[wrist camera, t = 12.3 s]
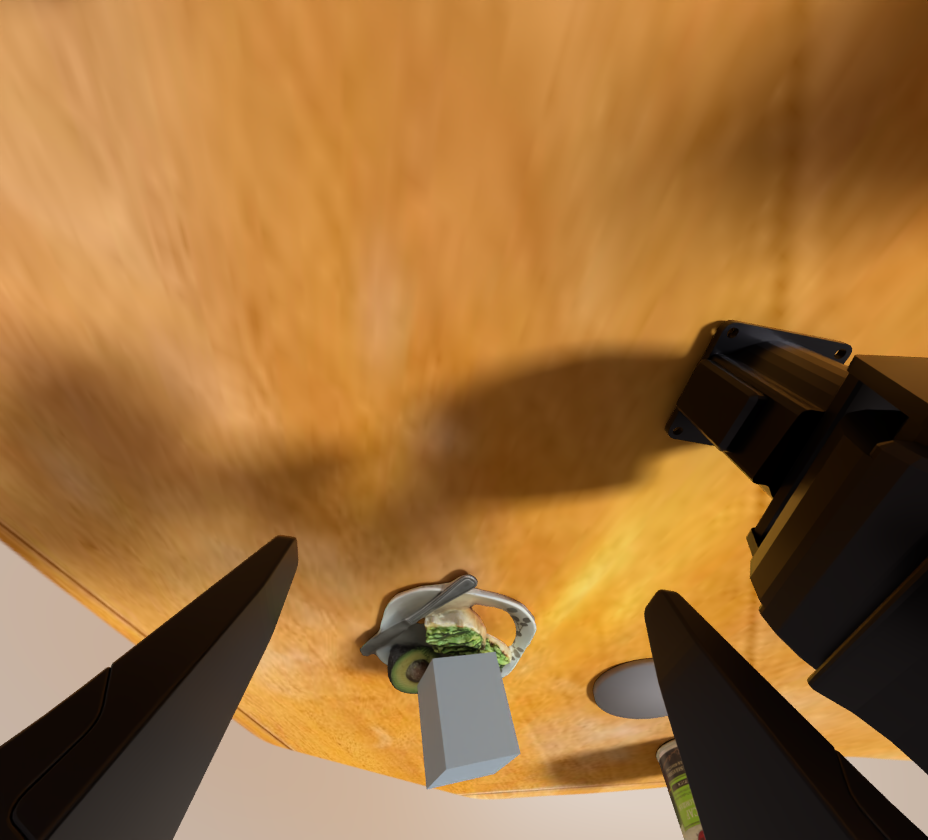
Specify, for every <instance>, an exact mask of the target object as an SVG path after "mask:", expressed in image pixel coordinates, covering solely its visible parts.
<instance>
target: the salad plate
mask: <svg viewBox="0 0 928 840" xmlns="http://www.w3.org/2000/svg"><path fill="white" fill-rule="evenodd" d="M477 582H478V581H477V579H476V578H475V577H474V576H472V575H462V576H460V577H458V578H457V579H455V580H454V581H452V582H449V583H443V584H436V585H426V586H420V587H416V588H413V589H410V590H407V591H404V592H400V593H398V594H396V595H395V596H394V597H393V598H392V599H391V600H390V601H389V603H388V605H387V607H386V609H385V611H384V614H383V619H382V622H381V626H380V630H379V631H378V632H377V633H376V634H375V635H374V636H373V637H372V638H370V639H369V640H368V641H367V642H366V643H365V644H364V645H363V646H362V648H360V651H361V653H362V655H364V656H369V655H371V654H375V655H377V656H378V657H379V659H380V660H381V661H382V662H383V663H385V664H386V665H387V666H388V677H389V679H390V682H391V683H392V685H393V686H394V688H396V689H397V690H399V691H401V692H404V693H409V694H418V689H417V685H418V683H419V682H420V680H421V678H422V676H423V675H424V673H425V671H426V669H427V668H428V666H429V664H430V662H431V661H432V659H434V658H443V657H452V656H461V655H471V654H480V653H489V652H496V656H497V660H498V664H499V668H500V672H501V676H502V678H503V677H505V676H506V675H508V674H509V673H510V672H511V671H512V670H513V669H514V667H515V666H516V664H517V663H518V661H519V659H520V658H521V656H522V654H523V653H524V651H525V649H526V647H527V646H528V645H529V644H530V642H531V640H532V638H533V636H534V634H535V632H536V624H535V619H534V616H533V615H532V614H531V612H530V611H529V610H528V609H527V608H526V607H525V605H523V604H522V603H520V602H518V601H516V600H514V599H512V598H510V597H507V596H505V595H502V594H498V593H494V592H490V591H484V590H480V589H477V588H475V587H476V586H477ZM476 604H477V605H483V606H489V607H496V608H499V609H503V610H504V611H506V612H508V613H509V614H510V616H511V617H512V619H513V620H514V623H515V625H516V637H515V640H514V642H513V644H512V645H511V646H509V647H508V646H507V645H506V644H505V643H503V642H502V641H501V640H499V639H497V638H496V637H494V636H492V635H490V634H488V633H486V628H485V626H484V624H483V622H482V620H481V618H480V617H479V615H478V614H477V613H475V612H474V611H473V610H472V606H473V605H476ZM422 618H425V624H419V623H416V622H418V621H419V620H420V619H422Z"/></svg>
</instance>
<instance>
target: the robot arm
mask: <svg viewBox="0 0 928 840" xmlns="http://www.w3.org/2000/svg"><path fill="white" fill-rule="evenodd" d="M732 328H734V329H733V332H732V333H731V334H730V335H728V336H727V333H728V331H729V330H730V329H732ZM838 350H839V351H838ZM837 351H838V353H837V354H836V355H835V353H836V352H837ZM851 353H852V347H851V346H850V345H848V344H846V343H843V342H841V341H836V340H831V339H826V338H821V337H816V336H811V335H806V334H801V333H796V332H791V331H786V330H781V329H776V328H771V327H765V326H760V325H755V324H750V323H745V322H740V321H735V320H728V321H726V322H724V323H723V324H721V325H720V327H719V328H718V329H717V331H716V333H715V335H714V337H713V339H712V341H711V343H710V344H709V346H708V348H707V350H706V352H705V354H704V356H703V357H702V359H701V361H700V362H699V363H698V365H697V367H696V368H695V370H694V372H693V374H692V376H691V378H690V380H689V382H688V383H687V385H686V387H685V389H684V391H683V393H682V395H681V397H680V398H679V400H678V402H677V406H676V408H675V410H674V412H673V413H672V415H671V417H670V419H669V421H668V423H667V425H666V427H665V431H666V433H667V434H668V435H669V436H670V437H671V438H673V439H678V440H684V441H690V442H696V443H702V444H707V445H713V446H715V447H716V448H717V449H718V450H720V451H722V452H723V453H724V454H725V455H726V456H727V457H728V458H729V459H730V460H731V461H732V462H733V463H734V464H735V465H736V466H737V467H738V468H739V469H740V470H741V471H742V472H743V473H744V474H745V475H746V476H747V477H748V478H749V479H750V480H751V481H752V482H753V483H756V484H758V485H759V486H760V487H761V488H762V489H763V490H764V491H765V492H766V493H767V494H768V495H769V496H770V497H771V498H772V501H771V503H770V504H769V506H768V508H767V509H766V511H765V513H764V514H763V516H762V518H761V519H760V521H759V523H758V524H757V526H756V528H752V529H751V530H750V532H749V534H748V535H747V537H746V539H747V542H748V545H749V547H750V550H751V553H752V556H753V558H752V559H751V564H750V579H751V581H752V584H753V586H754V588H755V591H756V593H757V596H758V598H759V600H760V602H761V606H760V607H759V612H760V614H761V615H762V617H763V618H764V619H765V620H766V622H767V623H768V624H769V626H770V627H771V628H772V629H773V631H774V632H775V633H776V634H777V635H778V636H779V638H780V639H781V640H783V641H784V642H785V643H786V644H787V645H788V646H789V647H790V648H791V649H792V650H793V651H794V652H795V653H796V654H797V655H798V656H799V657H800V658H801V659H803V660H804V661H805V662H806V663H808V664H809V665H810V666H812V667H813V668H814V669H815V671H814V672H813V673H812V674H811V675H810V676H809V677H808V679H807V681H808V684H809V685H810V687H811V688H812V689H813V690H815V691H817V692H818V693H820V694H822V695H823V696H825V697H827V698H828V699H830V700H832V701H834V702H835V703H837V704H839V705H840V706H842V707H844V708H846V709H847V710H849V711H851V712H852V713H854V714H855V715H857V716H858V717H859V718H861V719H862V720H863V721H865V722H866V723H867V724H869V725H870V726H871V727H873V728H874V729H875V730H877V731H878V732H879V733H881V734H882V735H883V736H884V737H886V738H887V739H888V740H890V741H891V742H892V743H893V744H895V745H896V746H897V747H898V748H899V749H900V750H901V751H902V752H904V753H905V754H906V755H907V756H908V757H909V758H910V759H911V760H912V761H914V762H915V763H916V764H917V765H918V766H919V767H920V768H921V769H922V770H923V771H924V772H925V773H927V775H928V358H923V357H900V356H878V355H855V356H854V358H853V360H852V361H851V363H850V365H849V366H846V365H844V363H845V362H846V360H847V359H848V358H849V356H850V354H851ZM677 427H679V428H678V430H676V431H673V430H674V429H675V428H677ZM297 566H298V547H297V539H296V538H295V537H291V536H284V535H279V536H276V537H275V538H273V539H272V540H271V541H269V542H268V543H267V544H266V545H264V546H263V547H262V548H260V549H259V550H258V551H257V552H255V553H254V554H253V555H251V556H250V557H249V558H248V559H246V560H245V561H244V562H242V563H241V564H240V565H239V566H237V567H236V568H235V569H233V570H232V571H231V572H230V573H228V574H227V575H226V576H224V577H223V578H222V579H221V580H219V581H218V582H217V583H215V584H214V585H213V586H211V587H210V588H209V589H208V590H206V591H205V592H204V593H202V594H201V595H200V596H199V597H197V598H196V599H195V600H193V601H192V602H191V603H190V604H188V605H187V606H186V607H184V608H183V609H182V610H181V611H179V612H178V613H177V614H175V615H174V616H173V617H172V618H170V619H169V620H168V621H166V622H165V623H164V624H163V625H161V626H160V627H159V628H157V629H156V630H155V631H154V632H152V633H151V634H150V635H148V636H147V637H146V638H144V639H143V640H142V641H141V642H139V643H138V644H137V645H135V646H134V647H133V648H132V649H130V650H129V651H128V652H126V653H125V654H124V655H123V656H121V657H120V658H119V659H117V660H116V661H115V662H114V663H113V664H112V665H111V668H110V667H107V668H106V669H104V670H103V671H102V672H100V673H99V674H98V675H97V676H95V677H94V678H93V679H91V680H90V681H89V682H88V683H86V684H85V685H84V686H82V687H81V688H80V689H78V690H77V691H76V692H74V693H73V694H72V695H70V696H69V697H68V698H66V699H65V700H64V701H62V702H61V703H60V704H58V705H57V706H56V707H54V708H53V709H52V710H50V711H49V712H48V713H46V714H45V715H44V716H42V717H41V718H39V719H38V720H37V721H35V722H34V723H33V724H31V725H30V726H28V727H27V728H25V729H24V730H22V731H21V732H20V733H18V734H17V735H15V736H14V737H13V738H11V739H10V740H8V741H7V742H5V743H4V744H3V745H1V746H0V840H173V838H174V836H175V833H176V832H177V830H178V827H179V826H180V823H181V821H182V819H183V817H184V815H185V813H186V811H187V809H188V807H189V805H190V803H191V801H192V799H193V797H194V795H195V792H196V791H197V789H198V787H199V785H200V783H201V780H202V778H203V776H204V774H205V772H206V770H207V768H208V766H209V764H210V762H211V760H212V758H213V756H214V753H215V752H216V750H217V748H218V746H219V744H220V742H221V739H222V737H223V735H224V733H225V731H226V729H227V727H228V725H229V723H230V721H231V719H232V717H233V715H234V713H235V711H236V709H237V707H238V705H239V703H240V701H241V699H242V697H243V695H244V693H245V690H246V688H247V686H248V684H249V682H250V680H251V678H252V676H253V674H254V672H255V670H256V668H257V666H258V664H259V662H260V660H261V658H262V656H263V654H264V652H265V650H266V647H267V645H268V643H269V641H270V639H271V637H272V634H273V632H274V629H275V627H276V624H277V621H278V618H279V616H280V613H281V610H282V608H283V605H284V602H285V599H286V597H287V594H288V591H289V589H290V586H291V583H292V580H293V578H294V575H295V572H296V569H297ZM644 617H645V623H646V627H647V632H648V637H649V642H650V647H651V652H652V656H653V661H654V666H655V671H656V675H657V680H658V684H659V687H660V691H661V694H662V698H663V701H664V704H665V708H666V711H667V714H668V718H669V721H670V724H671V727H672V731H673V734H674V737H675V741H676V744H677V747H678V751H679V754H680V757H681V760H682V764H683V767H684V770H685V774H686V777H687V780H688V783H689V787H690V790H691V793H692V797H693V800H694V803H695V807H696V810H697V813H698V816H699V820H700V823H701V826H702V830H703V833H704V836H705V840H928V837H927V836H926V835H925V834H924V833H923V832H922V831H921V830H920V829H919V828H917V826H915V825H914V824H913V823H912V822H911V821H910V820H909V819H908V818H907V817H906V816H905V815H903V814H902V813H901V812H900V811H899V810H898V809H897V808H896V807H895V806H894V805H893V804H892V803H891V802H890V801H888V799H886V798H885V796H883V794H881V793H880V792H879V791H878V790H877V789H876V788H875V787H874V786H873V785H872V784H871V783H870V782H869V781H868V780H867V779H866V778H865V777H864V776H863V775H862V774H861V773H860V772H859V771H858V770H857V769H856V768H855V767H854V766H853V765H852V764H851V763H850V762H849V761H847V759H846V758H845V757H844V756H843V755H842V754H841V753H840V752H838V751H836V750H835V749H834V747H833V746H832V745H831V744H830V743H829V742H828V741H827V740H826V739H825V738H824V737H823V736H822V735H821V734H820V733H819V732H818V731H817V730H816V729H815V728H814V727H813V726H812V725H811V724H810V723H809V722H808V721H807V720H806V719H805V718H804V717H803V716H802V715H801V714H800V713H799V712H798V711H797V710H796V709H795V708H794V707H793V706H792V705H791V704H790V703H789V702H788V701H787V700H786V699H785V698H784V697H783V696H782V695H781V694H780V693H779V692H778V691H777V690H776V689H775V688H774V687H773V686H772V685H771V684H770V683H769V682H768V681H767V680H766V679H765V678H764V677H763V676H762V675H760V674H759V673H758V672H757V671H756V670H755V669H754V668H753V667H752V666H751V665H750V664H749V663H748V662H747V661H746V660H745V659H744V658H743V657H742V656H741V655H740V654H739V653H738V652H737V651H736V650H735V649H734V648H733V647H732V646H731V645H730V644H729V643H728V642H727V641H726V640H725V639H724V638H723V637H722V636H721V635H720V634H719V633H718V632H717V631H716V630H715V629H714V628H713V627H712V626H711V625H710V624H709V623H708V622H707V621H706V620H705V619H704V618H703V617H702V616H701V615H700V614H699V613H698V612H697V611H696V610H695V609H694V608H693V607H692V606H691V605H690V604H689V603H688V602H687V601H686V600H685V599H684V598H683V597H682V596H681V595H679V594H678V593H677V592H674V591H669V590H658V591H657V592H656V594H655V595H654V596H653V598H652V599H651V601H650V602H649V603H648V605H647V606H646V608H645V612H644Z"/></svg>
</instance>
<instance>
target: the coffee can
mask: <svg viewBox="0 0 928 840" xmlns="http://www.w3.org/2000/svg"><path fill="white" fill-rule="evenodd" d="M656 758H657V760H658V762H659V764H660V767H661V770H662V773H663V776H664V779H665V782H666V785H667V788H668V792H669V795H670V798H671V801H672V804H673V807H674V810H675V813H676V816H677V819H678V822H679V824H680V828H681V831H682V834H683V837H684V840H705V836H704V833H703V830H702V826H701V823H700V820H699V816H698V813H697V810H696V807H695V803H694V800H693V797H692V793H691V790H690V787H689V783H688V780H687V777H686V774H685V770H684V767H683V764H682V760H681V757H680V754H679V751H678V747H677V744H676V741H675V739H673V740H671V741H669V742H667V743H665V744H664V745H662V746H661V747H660V748H659V749H658V751H657V753H656Z"/></svg>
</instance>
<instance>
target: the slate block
mask: <svg viewBox="0 0 928 840" xmlns="http://www.w3.org/2000/svg"><path fill="white" fill-rule="evenodd" d="M417 689H418V700H419V711H420V722H421V733H422V744H423V755H424V766H425V777H426V787H427V789H430V788H435V787H439V786H444V785H448V784H452V783H457V782H461V781H465V780H470V779H474V778H478V777H483V776H487V775H491V774H495V773H496V772H497V771H499V770H500V769H501V768H502V767H504V766H505V765H506V764H508V763H509V762H510V761H511V760H513V759H514V758H515V757H517V756H518V755H519V754H520V750H519V746H518V742H517V737H516V733H515V729H514V725H513V721H512V717H511V713H510V709H509V705H508V701H507V697H506V693H505V689H504V684H503V680H502V676H501V672H500V668H499V664H498V660H497V656H496V652H489V653H480V654H471V655H461V656H452V657H443V658H434V659H432V661H431V662H430V664H429V666H428V668H427V669H426V671H425V673H424V675H423V676H422V678H421V680H420V682H419V683H418V685H417Z"/></svg>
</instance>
